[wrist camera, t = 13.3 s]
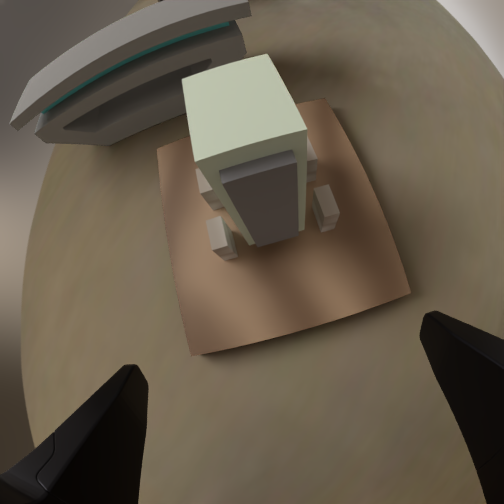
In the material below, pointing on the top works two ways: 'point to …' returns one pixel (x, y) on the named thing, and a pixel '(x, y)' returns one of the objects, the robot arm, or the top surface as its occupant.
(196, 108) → the pale panelled upright block
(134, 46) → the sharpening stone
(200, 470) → the top surface
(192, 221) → the tan board with pegs
